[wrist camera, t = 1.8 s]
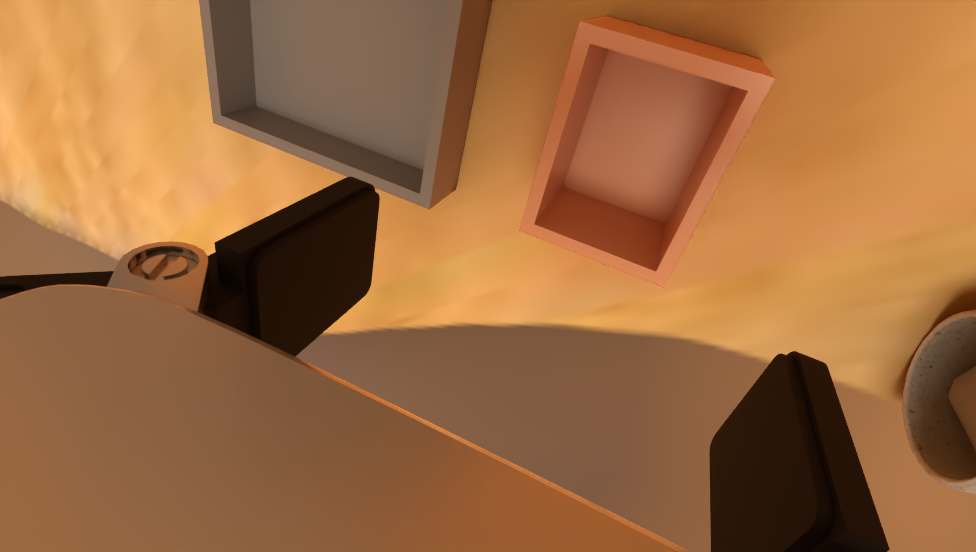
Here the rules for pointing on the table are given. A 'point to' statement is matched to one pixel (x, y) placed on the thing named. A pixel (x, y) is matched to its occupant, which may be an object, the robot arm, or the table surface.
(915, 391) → the ceramic mug
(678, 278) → the table surface
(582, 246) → the crate small
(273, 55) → the tray
